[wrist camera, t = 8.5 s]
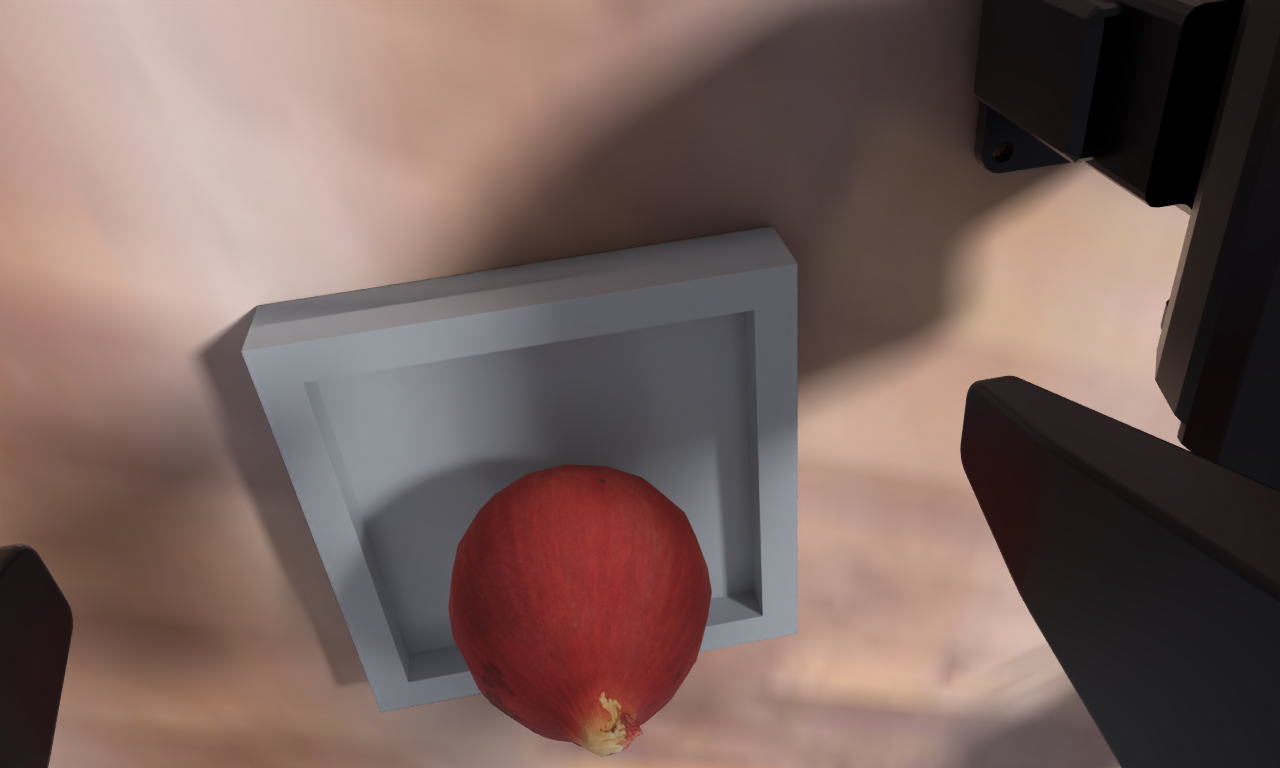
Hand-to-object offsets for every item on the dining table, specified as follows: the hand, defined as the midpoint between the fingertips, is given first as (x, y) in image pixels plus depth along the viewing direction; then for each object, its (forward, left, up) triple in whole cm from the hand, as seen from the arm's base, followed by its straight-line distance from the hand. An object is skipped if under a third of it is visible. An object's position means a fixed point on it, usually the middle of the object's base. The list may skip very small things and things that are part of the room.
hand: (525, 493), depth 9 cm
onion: (0, +10, -12) cm, 16 cm away
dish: (0, +10, -13) cm, 16 cm away
